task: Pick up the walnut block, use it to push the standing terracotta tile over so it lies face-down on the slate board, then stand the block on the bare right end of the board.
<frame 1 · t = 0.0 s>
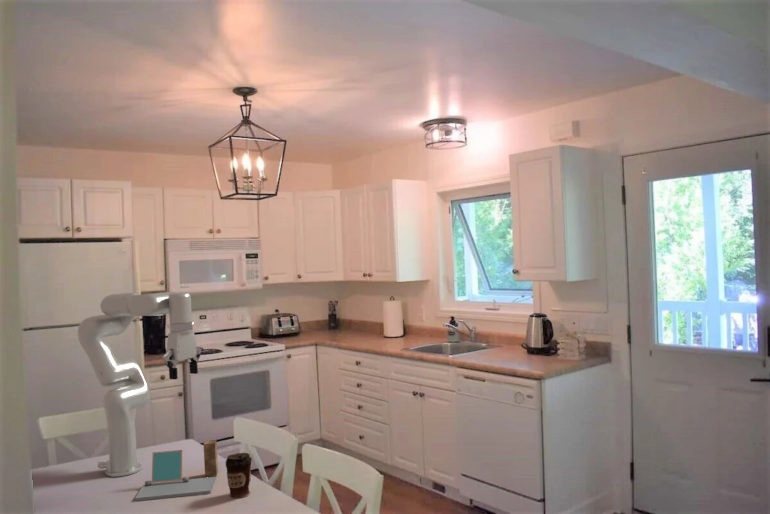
hand: (183, 376, 217), 37 cm above the table, tool pointing down, fingers open, 9 cm apart
tile: (167, 466, 215), point 6 cm above the table, hinge at 110.0°
walnut block: (211, 475, 223), on the table
coffee cup: (240, 495, 202), on the table
board: (176, 489, 210), on the table
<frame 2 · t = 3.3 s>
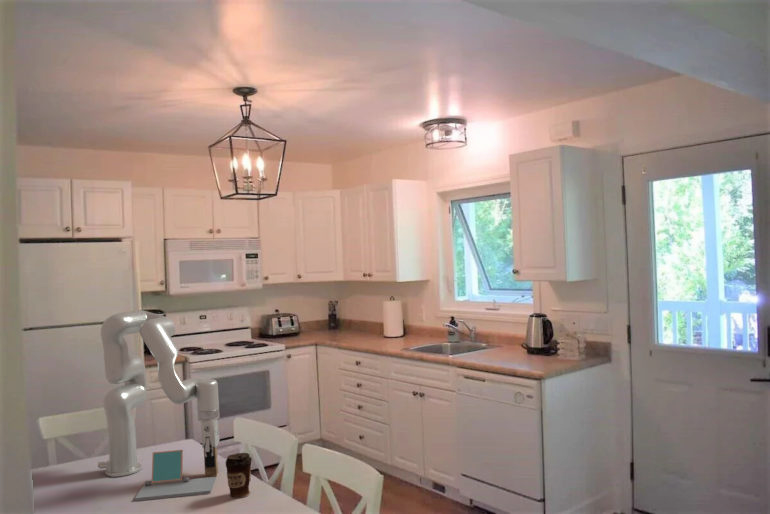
hand: (211, 464, 223), 4 cm above the table, tool pointing down, fingers closed on walnut block, 4 cm apart
walnut block: (211, 475, 223), on the table, touching gripper
everything else where it was.
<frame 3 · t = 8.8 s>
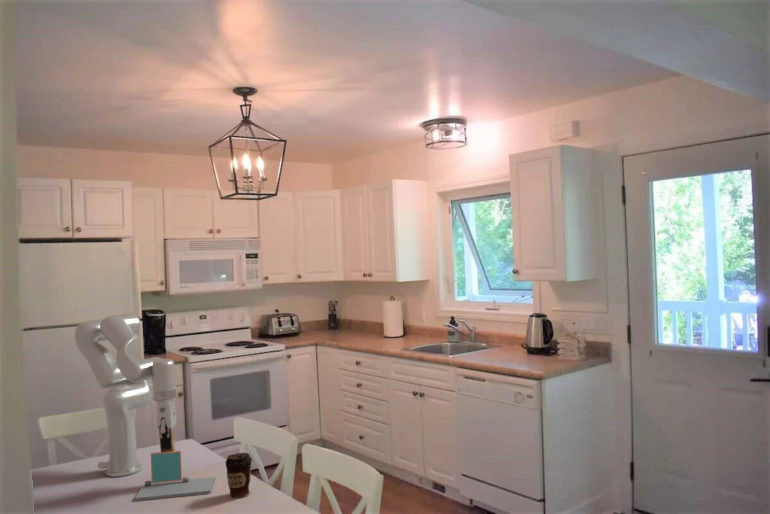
hand: (167, 446, 217), 13 cm above the table, tool pointing down, fingers closed on walnut block, 4 cm apart
tile: (166, 466, 214), point 7 cm above the table, hinge at 93.5°, touching walnut block
walnut block: (168, 457, 217), point 9 cm above the table, touching gripper, tile
everything else where it was.
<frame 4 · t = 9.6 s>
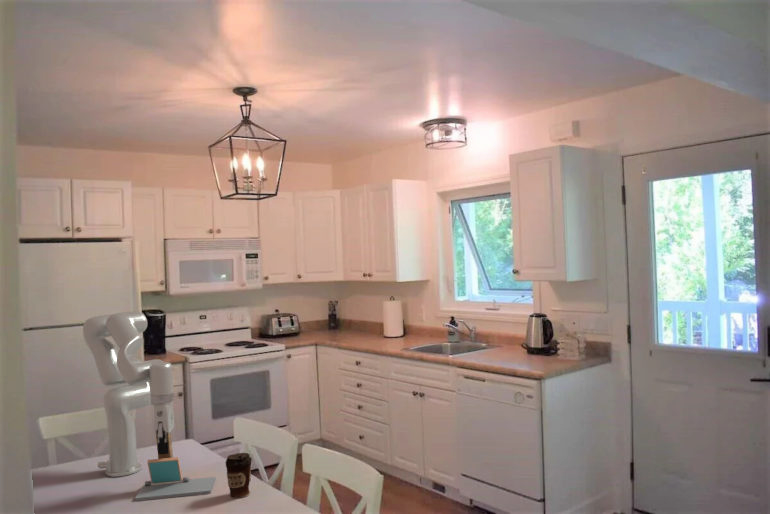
hand: (164, 451, 212), 13 cm above the table, tool pointing down, fingers closed on walnut block, 4 cm apart
tile: (165, 470, 211), point 6 cm above the table, hinge at 63.7°, touching walnut block
walnut block: (166, 461, 213), point 9 cm above the table, touching gripper, tile
everything else where it was.
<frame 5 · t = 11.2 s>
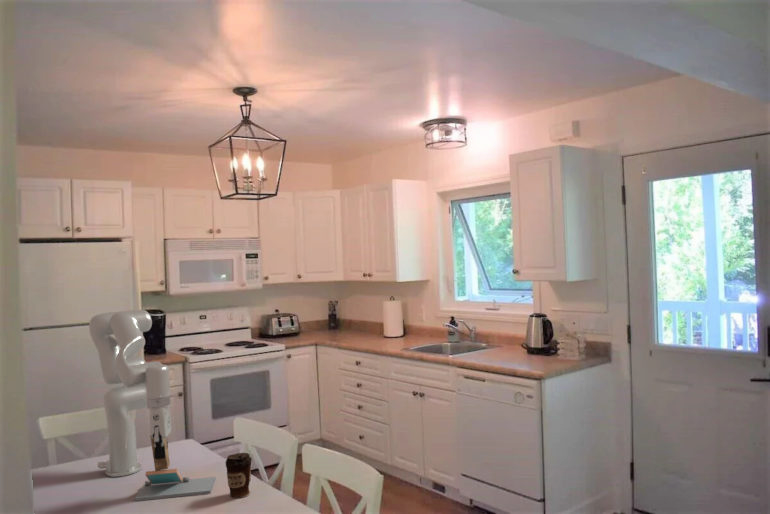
hand: (161, 455, 208), 13 cm above the table, tool pointing down, fingers closed on walnut block, 4 cm apart
tile: (164, 476, 210), point 5 cm above the table, hinge at 37.0°
walnut block: (162, 467, 208), point 8 cm above the table, touching gripper
everything else where it was.
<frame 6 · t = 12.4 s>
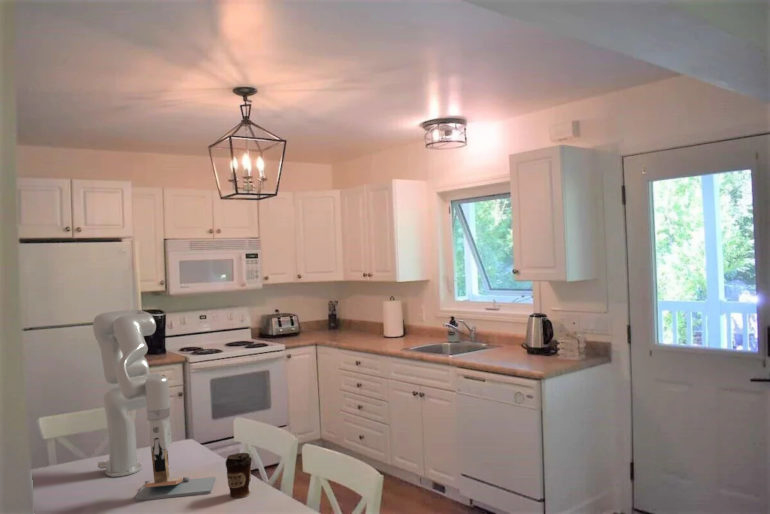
hand: (161, 468, 206), 9 cm above the table, tool pointing down, fingers closed on walnut block, 4 cm apart
tile: (163, 482, 209), point 3 cm above the table, hinge at 14.9°, touching walnut block
walnut block: (162, 480, 206), point 5 cm above the table, touching gripper, tile
everything else where it was.
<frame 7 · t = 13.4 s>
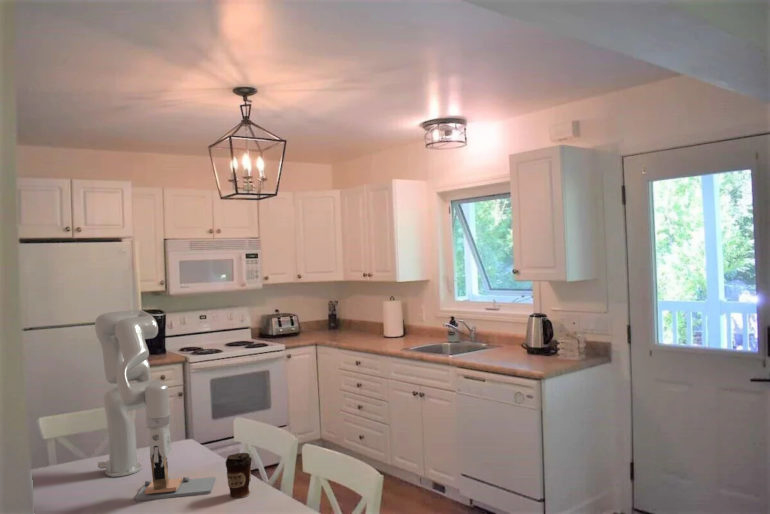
hand: (161, 475, 205), 7 cm above the table, tool pointing down, fingers closed on walnut block, 4 cm apart
tile: (164, 485, 209), point 2 cm above the table, hinge at 2.9°, touching walnut block
walnut block: (161, 487, 205), point 3 cm above the table, touching gripper, tile
everything else where it was.
when the fingers open (6 cm above the table, at t = 19.2 s): walnut block drops 2 cm, resting on board.
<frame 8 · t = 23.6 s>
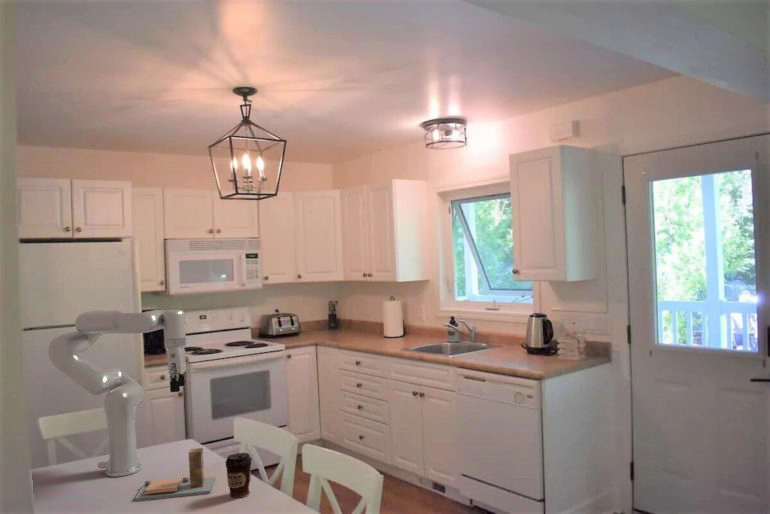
hand: (177, 388, 230), 30 cm above the table, tool pointing down, fingers open, 9 cm apart
tile: (164, 485, 209), point 2 cm above the table, hinge at 2.8°
walnut block: (197, 485, 210), point 1 cm above the table, touching board
everything else where it was.
at the end: tile at +3° (first picture: +110°); walnut block inside the target area (0.1 cm from its centre), point 1.0 cm above the table; the gripper is holding nothing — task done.
